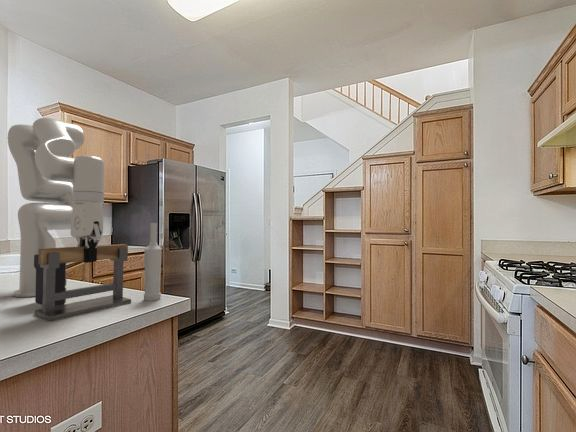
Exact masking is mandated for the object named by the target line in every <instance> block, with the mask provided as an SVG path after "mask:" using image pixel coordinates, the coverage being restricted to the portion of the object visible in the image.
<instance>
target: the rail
mask: <svg viewBox="0 0 576 432" xmlns="http://www.w3.org/2000/svg"><path fill="white" fill-rule="evenodd" d="M118 248H127V258H128V257H129V244H125V243H120V244H119V243H118V244H102V245H101V244H98V247H97V261H101V260H110V259H113V258H118ZM84 249H86V247H85V246H81V247H78V246H67V247H56V248H44V249H39V258H38V264H41V265H47V253H60V263H66V264H69V263H79V262H81V261H82V262H84Z"/></svg>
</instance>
